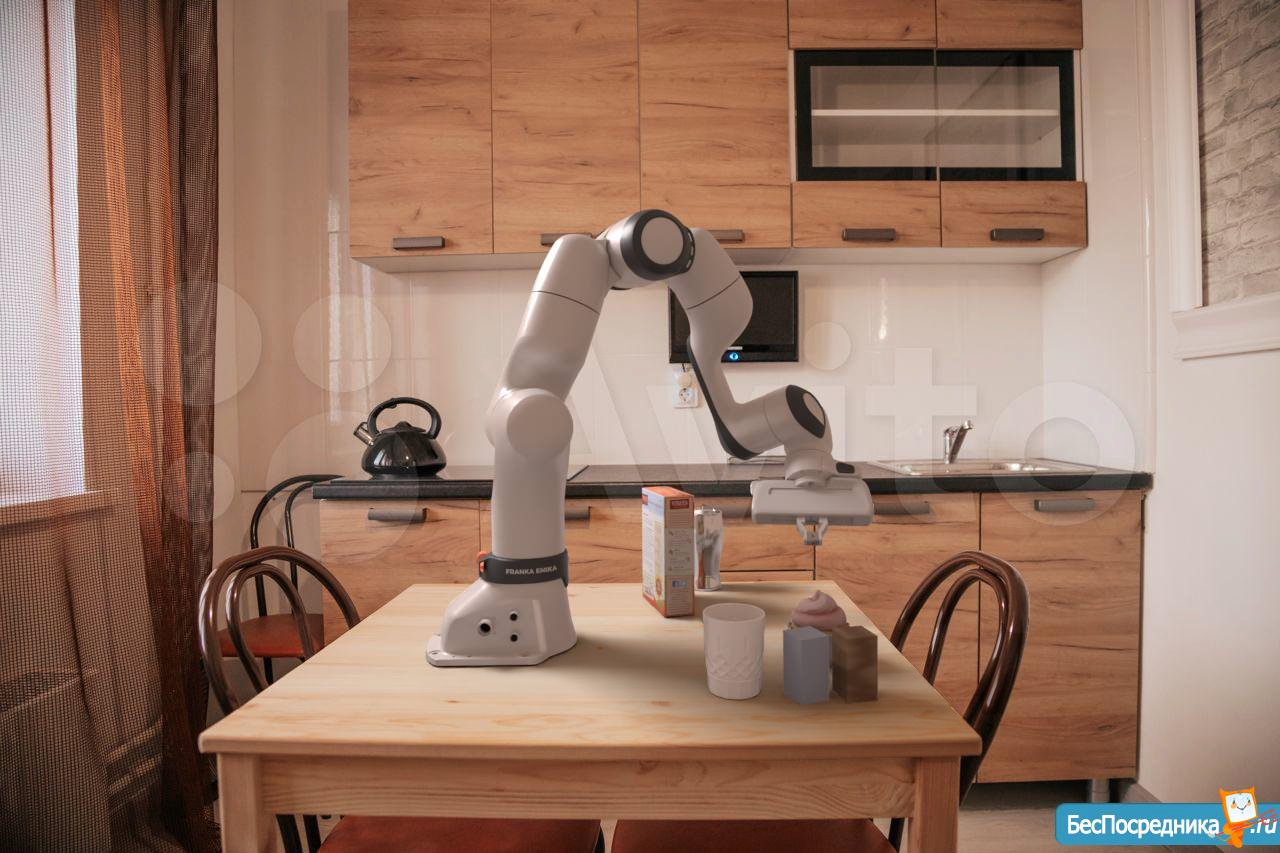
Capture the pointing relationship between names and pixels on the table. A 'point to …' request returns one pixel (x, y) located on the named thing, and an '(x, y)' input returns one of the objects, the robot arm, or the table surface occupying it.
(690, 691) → the table surface
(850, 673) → the walnut block
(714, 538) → the beer glass
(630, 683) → the table surface
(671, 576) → the cracker box
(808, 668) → the slate-blue block
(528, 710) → the table surface
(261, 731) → the table surface
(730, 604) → the white cup
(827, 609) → the cupcake
